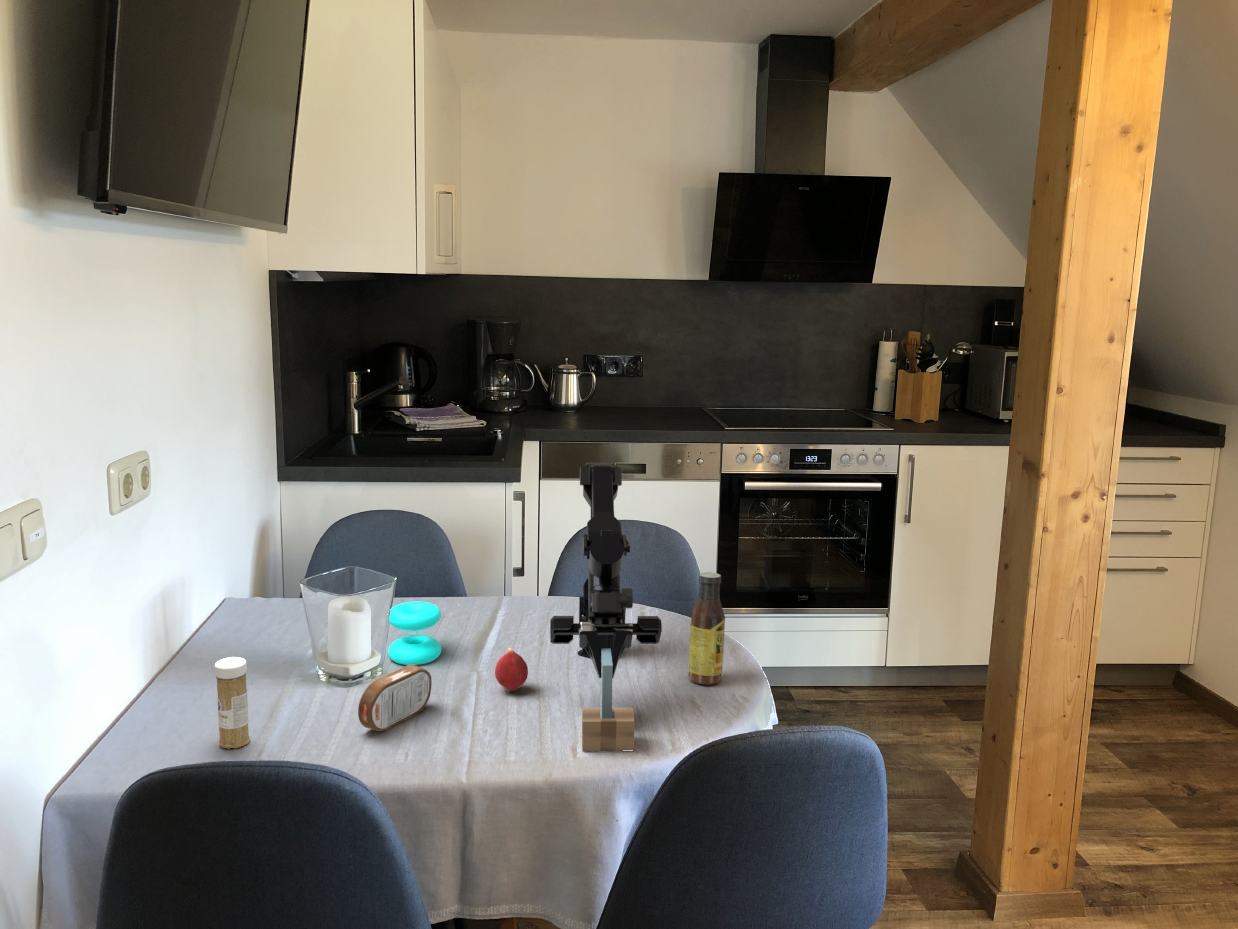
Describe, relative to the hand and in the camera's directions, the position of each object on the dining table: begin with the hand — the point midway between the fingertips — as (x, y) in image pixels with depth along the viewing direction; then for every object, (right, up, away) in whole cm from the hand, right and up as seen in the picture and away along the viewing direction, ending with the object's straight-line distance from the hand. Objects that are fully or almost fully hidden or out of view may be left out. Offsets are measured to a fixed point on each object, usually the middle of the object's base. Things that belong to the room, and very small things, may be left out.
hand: (606, 677), depth 163 cm
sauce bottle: (+18, -5, +19) cm, 26 cm away
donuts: (-37, -2, +27) cm, 46 cm away
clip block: (0, -9, -7) cm, 11 cm away
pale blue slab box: (0, -7, +1) cm, 8 cm away
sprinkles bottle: (-58, -8, -9) cm, 59 cm away
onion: (-17, -5, +12) cm, 22 cm away
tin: (-34, -7, 0) cm, 35 cm away
